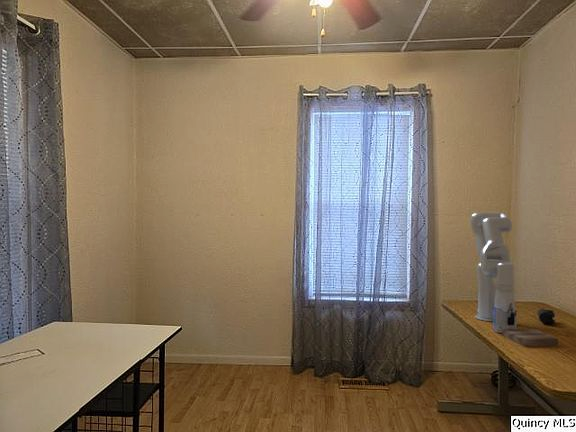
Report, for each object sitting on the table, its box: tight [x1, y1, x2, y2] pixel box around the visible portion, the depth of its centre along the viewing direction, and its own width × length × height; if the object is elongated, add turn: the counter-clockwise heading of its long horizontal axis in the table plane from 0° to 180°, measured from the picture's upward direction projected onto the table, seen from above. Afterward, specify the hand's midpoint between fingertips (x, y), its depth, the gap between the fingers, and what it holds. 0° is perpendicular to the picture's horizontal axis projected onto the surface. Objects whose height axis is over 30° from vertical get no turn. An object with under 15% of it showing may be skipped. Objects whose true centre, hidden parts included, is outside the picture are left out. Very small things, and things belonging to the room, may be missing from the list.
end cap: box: [537, 307, 556, 326], centre depth 225 cm, size 10×7×7 cm
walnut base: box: [501, 328, 559, 347], centre depth 194 cm, size 16×16×3 cm
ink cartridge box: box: [492, 306, 518, 334], centre depth 207 cm, size 10×6×14 cm, turn 78°
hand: (504, 322), depth 207 cm, fingers open, 9 cm apart
